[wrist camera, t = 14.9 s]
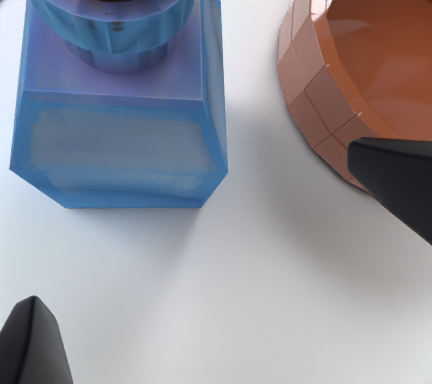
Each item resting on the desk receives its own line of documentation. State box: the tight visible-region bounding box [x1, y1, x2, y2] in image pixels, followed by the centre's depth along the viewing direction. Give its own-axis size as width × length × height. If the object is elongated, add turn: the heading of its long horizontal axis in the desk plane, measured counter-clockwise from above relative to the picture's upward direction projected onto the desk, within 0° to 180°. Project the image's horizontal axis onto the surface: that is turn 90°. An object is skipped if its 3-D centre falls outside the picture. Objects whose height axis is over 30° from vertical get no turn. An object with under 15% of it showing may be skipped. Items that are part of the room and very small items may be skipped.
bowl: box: [277, 0, 432, 192], centre depth 18 cm, size 16×16×4 cm
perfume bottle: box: [9, 0, 228, 208], centre depth 11 cm, size 6×6×12 cm
